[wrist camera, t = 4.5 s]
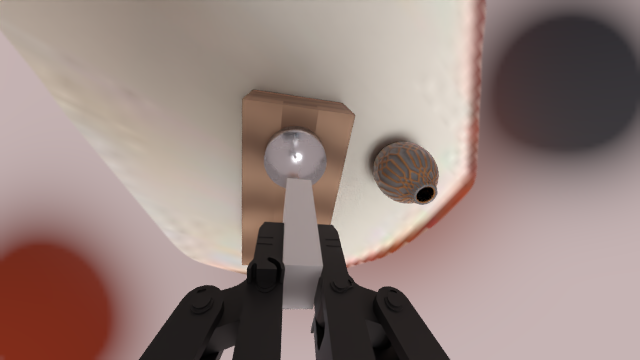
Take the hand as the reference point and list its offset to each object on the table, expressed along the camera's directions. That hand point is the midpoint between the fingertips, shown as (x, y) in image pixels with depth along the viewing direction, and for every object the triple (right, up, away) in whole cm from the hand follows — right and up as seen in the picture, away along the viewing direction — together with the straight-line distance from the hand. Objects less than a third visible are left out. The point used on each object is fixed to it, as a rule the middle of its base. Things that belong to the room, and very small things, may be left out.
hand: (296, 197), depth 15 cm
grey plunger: (-1, +6, +11) cm, 13 cm away
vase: (+11, +4, +16) cm, 20 cm away
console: (-2, +2, +15) cm, 16 cm away
